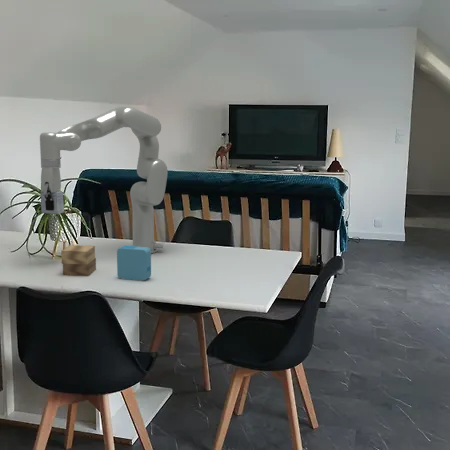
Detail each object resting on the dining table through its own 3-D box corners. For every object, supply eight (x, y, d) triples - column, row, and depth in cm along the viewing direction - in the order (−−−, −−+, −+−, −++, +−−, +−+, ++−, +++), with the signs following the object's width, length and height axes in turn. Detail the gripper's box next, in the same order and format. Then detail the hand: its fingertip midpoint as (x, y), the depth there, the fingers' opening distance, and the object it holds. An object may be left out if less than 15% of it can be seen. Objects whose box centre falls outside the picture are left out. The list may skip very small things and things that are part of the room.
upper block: (94, 258, 236) (94, 246, 235) (87, 264, 226) (87, 251, 225) (70, 257, 236) (69, 245, 235) (61, 263, 227) (61, 250, 226)
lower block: (96, 270, 237) (95, 258, 236) (88, 276, 227) (88, 264, 226) (71, 269, 238) (71, 257, 237) (63, 276, 228) (62, 263, 227)
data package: (151, 278, 226) (151, 247, 223) (146, 281, 221) (146, 249, 219) (122, 275, 229) (121, 245, 226) (117, 278, 224) (116, 247, 222)
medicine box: (64, 212, 240) (63, 191, 239) (57, 214, 236) (57, 192, 235) (47, 211, 243) (46, 190, 241) (41, 213, 239) (40, 191, 237)
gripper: (49, 162, 245) (51, 205, 248) (32, 165, 228) (35, 212, 231) (67, 162, 244) (69, 206, 247) (51, 166, 227) (53, 212, 231)
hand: (52, 208), depth 239 cm, fingers closed on medicine box, 5 cm apart
